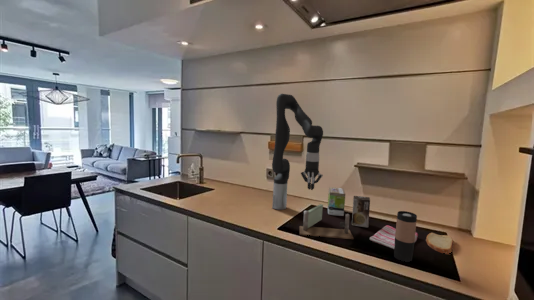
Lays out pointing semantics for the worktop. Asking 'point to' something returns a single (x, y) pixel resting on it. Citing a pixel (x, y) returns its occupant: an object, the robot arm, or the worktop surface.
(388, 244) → the dish towel
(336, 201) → the tea box
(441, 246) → the slice of bread
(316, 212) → the gate
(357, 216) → the coffee box
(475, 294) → the worktop surface
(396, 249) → the travel mug
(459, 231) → the worktop surface
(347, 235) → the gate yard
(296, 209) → the worktop surface
